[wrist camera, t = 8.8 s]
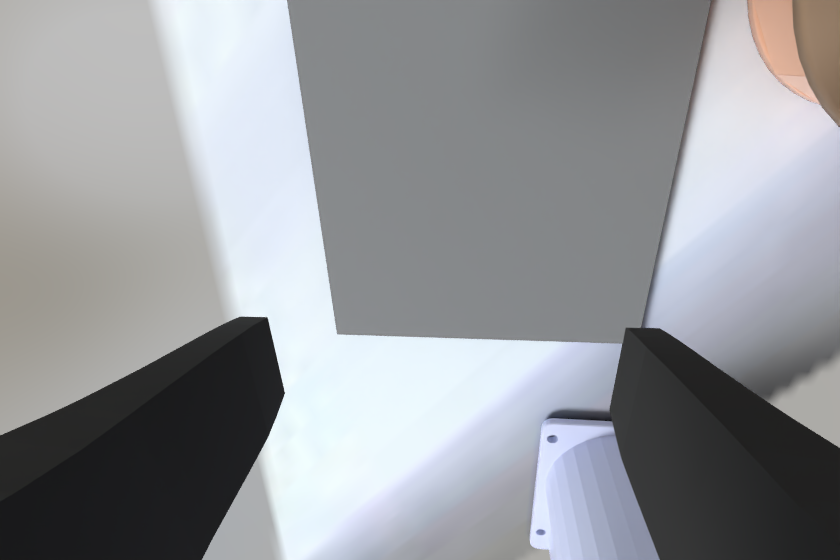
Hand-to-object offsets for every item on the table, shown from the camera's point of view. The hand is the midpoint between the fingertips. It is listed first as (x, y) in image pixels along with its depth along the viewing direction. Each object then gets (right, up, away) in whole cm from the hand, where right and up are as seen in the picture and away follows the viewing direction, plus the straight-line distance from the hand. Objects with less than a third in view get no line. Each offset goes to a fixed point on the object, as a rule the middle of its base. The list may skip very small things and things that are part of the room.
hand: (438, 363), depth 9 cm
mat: (+2, +5, +8) cm, 10 cm away
